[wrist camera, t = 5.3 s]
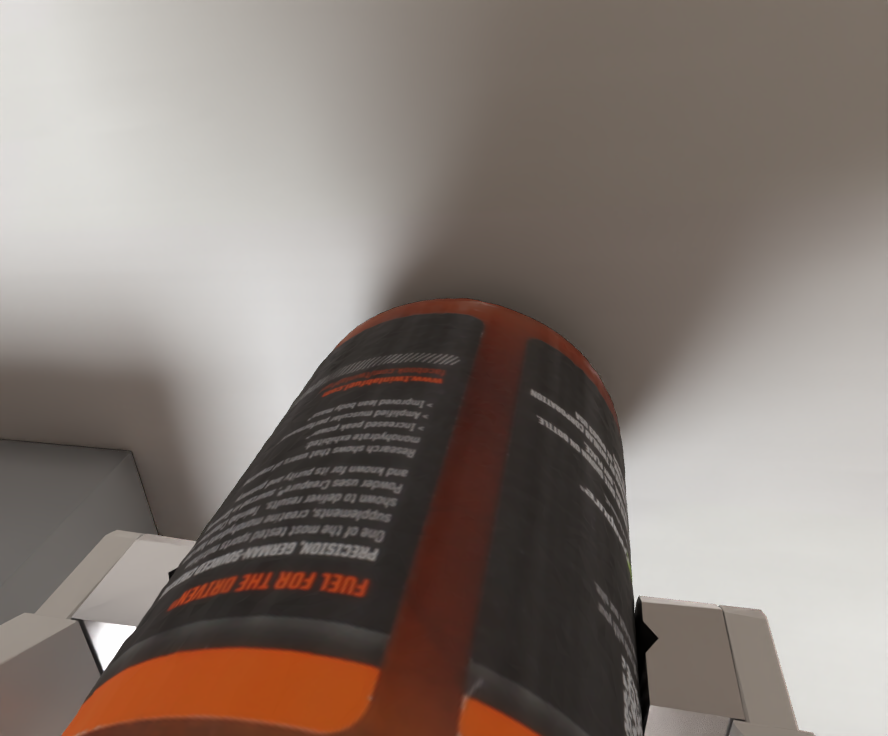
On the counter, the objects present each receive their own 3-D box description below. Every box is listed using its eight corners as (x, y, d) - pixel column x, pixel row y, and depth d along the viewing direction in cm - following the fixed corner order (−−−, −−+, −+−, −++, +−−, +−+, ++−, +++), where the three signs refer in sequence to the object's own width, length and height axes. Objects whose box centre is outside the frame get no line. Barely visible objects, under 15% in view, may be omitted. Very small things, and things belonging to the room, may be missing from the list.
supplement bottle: (264, 413, 14) (-483, 1370, 4) (456, 214, 11) (-457, 1684, 1) (472, 584, 15) (254, 1630, 6) (692, 443, 12) (1042, 2078, 3)
